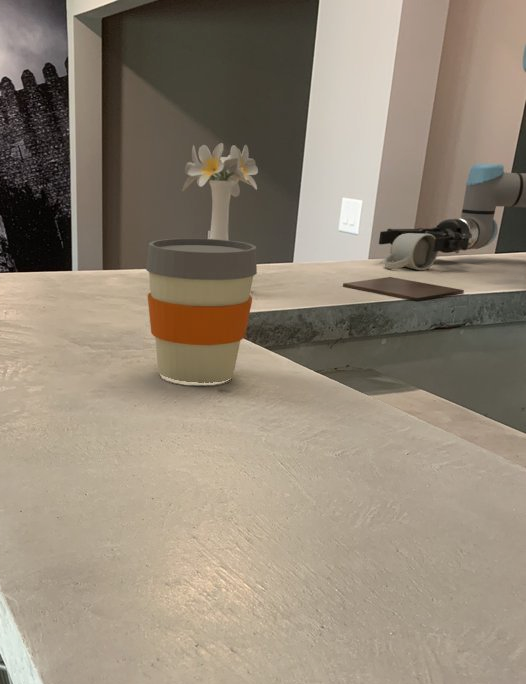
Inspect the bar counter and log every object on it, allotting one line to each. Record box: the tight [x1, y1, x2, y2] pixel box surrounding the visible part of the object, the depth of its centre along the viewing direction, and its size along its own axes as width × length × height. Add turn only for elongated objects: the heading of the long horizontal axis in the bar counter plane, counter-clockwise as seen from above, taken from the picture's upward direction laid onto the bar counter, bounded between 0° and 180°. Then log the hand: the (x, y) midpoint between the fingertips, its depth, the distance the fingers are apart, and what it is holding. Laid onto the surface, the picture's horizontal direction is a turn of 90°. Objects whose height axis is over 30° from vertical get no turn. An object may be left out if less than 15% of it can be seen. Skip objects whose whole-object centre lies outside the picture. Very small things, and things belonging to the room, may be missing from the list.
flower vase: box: [181, 142, 259, 240], centre depth 137 cm, size 13×18×25 cm
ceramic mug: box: [383, 233, 439, 271], centre depth 171 cm, size 11×8×8 cm
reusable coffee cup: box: [145, 237, 258, 387], centre depth 89 cm, size 13×13×15 cm
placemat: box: [342, 276, 465, 302], centre depth 148 cm, size 17×15×1 cm
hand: (407, 241), depth 169 cm, fingers open, 13 cm apart
